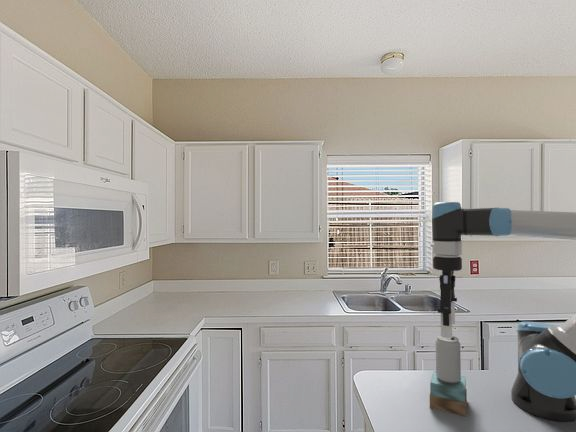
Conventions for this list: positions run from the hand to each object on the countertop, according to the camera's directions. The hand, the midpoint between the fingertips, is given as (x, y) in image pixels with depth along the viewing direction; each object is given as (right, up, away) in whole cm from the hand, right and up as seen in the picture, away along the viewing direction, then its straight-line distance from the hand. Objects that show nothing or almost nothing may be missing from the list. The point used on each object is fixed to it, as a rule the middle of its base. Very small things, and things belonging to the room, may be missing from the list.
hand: (448, 329), depth 95 cm
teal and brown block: (0, -21, 0) cm, 21 cm away
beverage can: (0, -14, 0) cm, 14 cm away
